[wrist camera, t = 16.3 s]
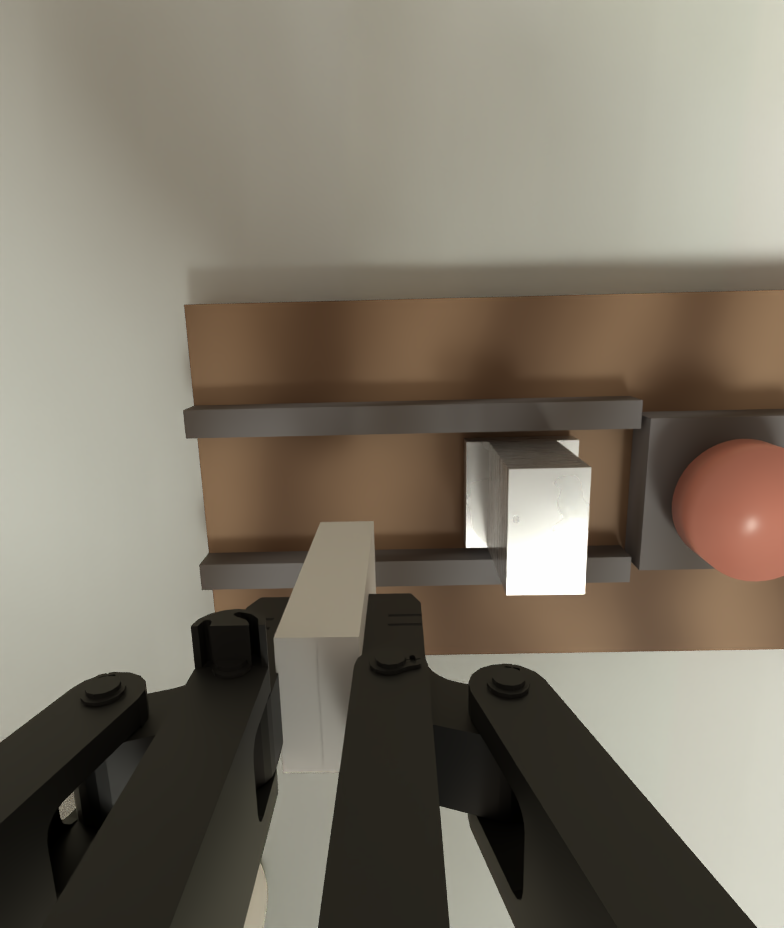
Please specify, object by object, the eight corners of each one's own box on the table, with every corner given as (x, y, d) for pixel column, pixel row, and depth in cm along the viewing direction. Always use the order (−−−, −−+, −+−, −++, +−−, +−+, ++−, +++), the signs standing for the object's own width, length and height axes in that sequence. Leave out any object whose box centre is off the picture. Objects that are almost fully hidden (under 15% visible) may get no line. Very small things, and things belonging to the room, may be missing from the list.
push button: (810, 437, 20) (845, 447, 19) (793, 561, 21) (824, 580, 20) (677, 440, 20) (700, 450, 19) (666, 563, 21) (687, 582, 20)
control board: (1147, 282, 23) (1319, 274, 19) (1061, 619, 26) (1189, 678, 22) (201, 305, 24) (158, 303, 19) (232, 633, 27) (201, 693, 23)
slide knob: (572, 435, 22) (618, 467, 18) (568, 538, 23) (610, 593, 19) (464, 437, 22) (481, 469, 18) (463, 540, 23) (480, 595, 19)
